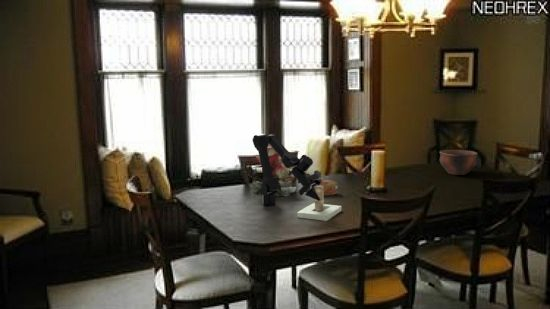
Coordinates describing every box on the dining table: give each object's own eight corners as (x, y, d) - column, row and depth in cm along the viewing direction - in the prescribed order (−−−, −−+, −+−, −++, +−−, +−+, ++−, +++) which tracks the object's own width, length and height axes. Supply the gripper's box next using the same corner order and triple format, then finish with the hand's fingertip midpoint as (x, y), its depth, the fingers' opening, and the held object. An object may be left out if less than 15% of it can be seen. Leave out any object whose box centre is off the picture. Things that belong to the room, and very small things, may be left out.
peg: (316, 214, 268) (316, 187, 266) (313, 212, 273) (313, 186, 270) (325, 213, 270) (324, 187, 267) (321, 211, 274) (321, 185, 272)
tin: (314, 196, 310) (314, 182, 308) (313, 195, 313) (312, 181, 311) (339, 194, 312) (339, 180, 311) (337, 193, 315) (337, 179, 314)
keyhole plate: (326, 220, 260) (326, 215, 259) (297, 217, 267) (297, 212, 267) (341, 210, 277) (341, 206, 276) (313, 207, 284) (313, 203, 284)
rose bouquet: (293, 197, 307) (292, 146, 302) (246, 195, 317) (244, 145, 312) (305, 187, 331) (304, 140, 326) (261, 185, 341) (259, 139, 336)
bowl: (480, 171, 366) (481, 150, 363) (472, 178, 345) (473, 155, 343) (443, 168, 379) (444, 148, 376) (434, 175, 358) (434, 153, 356)
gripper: (303, 169, 261) (324, 193, 258) (318, 163, 277) (338, 185, 274) (289, 183, 266) (310, 207, 263) (305, 176, 282) (324, 198, 279)
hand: (321, 199), depth 269 cm, fingers closed on peg, 4 cm apart
